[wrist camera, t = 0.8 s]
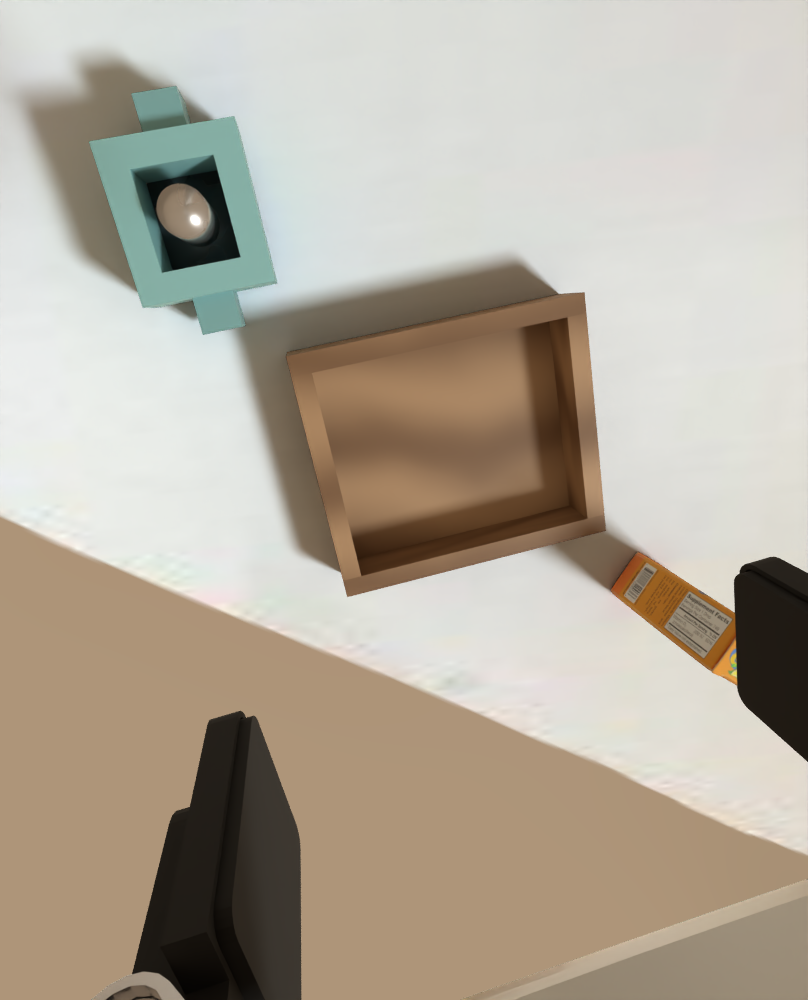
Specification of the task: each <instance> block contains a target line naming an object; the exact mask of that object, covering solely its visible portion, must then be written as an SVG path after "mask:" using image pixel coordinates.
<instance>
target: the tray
mask: <svg viewBox="0 0 808 1000" xmlns="http://www.w3.org/2000/svg"><path fill="white" fill-rule="evenodd" d="M286 359H287V362H288V366H289V370H290V374H291V378H292V382H293V386H294V390H295V394H296V398H297V402H298V406H299V409H300V413H301V417H302V421H303V425H304V429H305V433H306V437H307V441H308V445H309V449H310V453H311V456H312V460H313V464H314V468H315V472H316V476H317V480H318V484H319V488H320V492H321V496H322V500H323V503H324V507H325V511H326V515H327V519H328V523H329V527H330V531H331V535H332V539H333V543H334V547H335V550H336V554H337V558H338V562H339V566H340V570H341V574H342V578H343V582H344V586H345V590H346V594H347V597H349V596H353V595H357V594H361V593H365V592H369V591H373V590H377V589H381V588H384V587H388V586H392V585H396V584H400V583H404V582H408V581H412V580H416V579H420V578H423V577H427V576H431V575H435V574H439V573H443V572H447V571H451V570H455V569H458V568H462V567H466V566H470V565H474V564H478V563H482V562H486V561H490V560H494V559H497V558H501V557H505V556H509V555H513V554H517V553H521V552H525V551H529V550H533V549H536V548H540V547H544V546H548V545H552V544H556V543H560V542H564V541H568V540H571V539H575V538H579V537H583V536H587V535H591V534H595V533H599V532H603V531H606V528H605V516H604V505H603V494H602V483H601V472H600V461H599V449H598V438H597V427H596V416H595V405H594V394H593V382H592V371H591V360H590V349H589V338H588V327H587V315H586V304H585V293H568V294H557V295H552V296H548V297H543V298H538V299H534V300H529V301H524V302H520V303H515V304H510V305H506V306H501V307H496V308H492V309H487V310H482V311H478V312H473V313H468V314H464V315H459V316H454V317H450V318H445V319H440V320H436V321H431V322H426V323H421V324H417V325H412V326H407V327H403V328H398V329H393V330H389V331H384V332H379V333H375V334H370V335H365V336H361V337H356V338H351V339H347V340H342V341H337V342H333V343H328V344H323V345H319V346H314V347H309V348H305V349H300V350H295V351H290V352H287V354H286Z"/></svg>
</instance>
